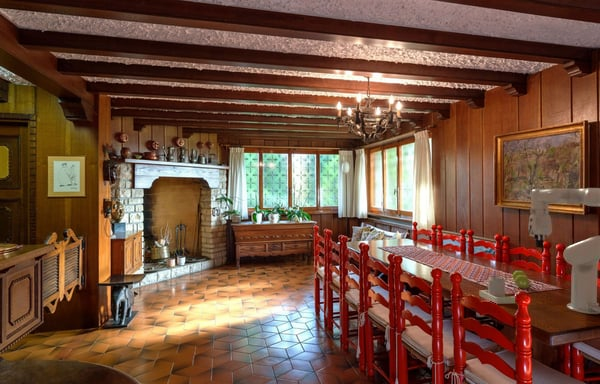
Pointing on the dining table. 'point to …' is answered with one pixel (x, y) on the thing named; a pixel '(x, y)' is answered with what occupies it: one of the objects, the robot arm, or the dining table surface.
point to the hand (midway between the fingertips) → (539, 247)
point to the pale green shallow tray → (496, 298)
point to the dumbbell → (521, 279)
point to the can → (496, 286)
